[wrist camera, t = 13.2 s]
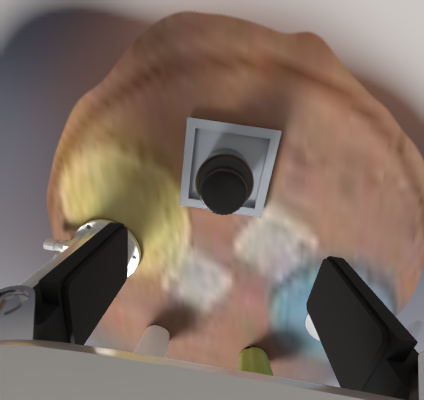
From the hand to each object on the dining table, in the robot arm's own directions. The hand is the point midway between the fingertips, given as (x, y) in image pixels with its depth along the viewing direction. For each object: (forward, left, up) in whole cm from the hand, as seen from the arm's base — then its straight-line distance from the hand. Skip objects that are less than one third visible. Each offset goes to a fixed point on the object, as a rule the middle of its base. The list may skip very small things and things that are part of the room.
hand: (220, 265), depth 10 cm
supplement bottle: (0, 0, -23) cm, 23 cm away
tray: (0, 0, -24) cm, 24 cm away
